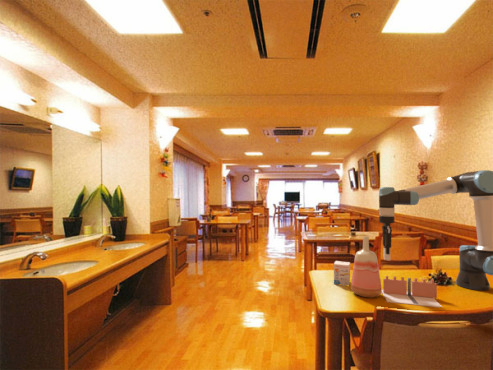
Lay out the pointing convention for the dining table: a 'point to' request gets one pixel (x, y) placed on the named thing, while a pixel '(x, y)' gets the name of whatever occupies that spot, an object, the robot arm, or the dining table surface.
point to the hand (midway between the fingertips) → (386, 259)
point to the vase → (366, 272)
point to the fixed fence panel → (422, 288)
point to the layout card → (411, 299)
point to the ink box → (342, 273)
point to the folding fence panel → (395, 286)
